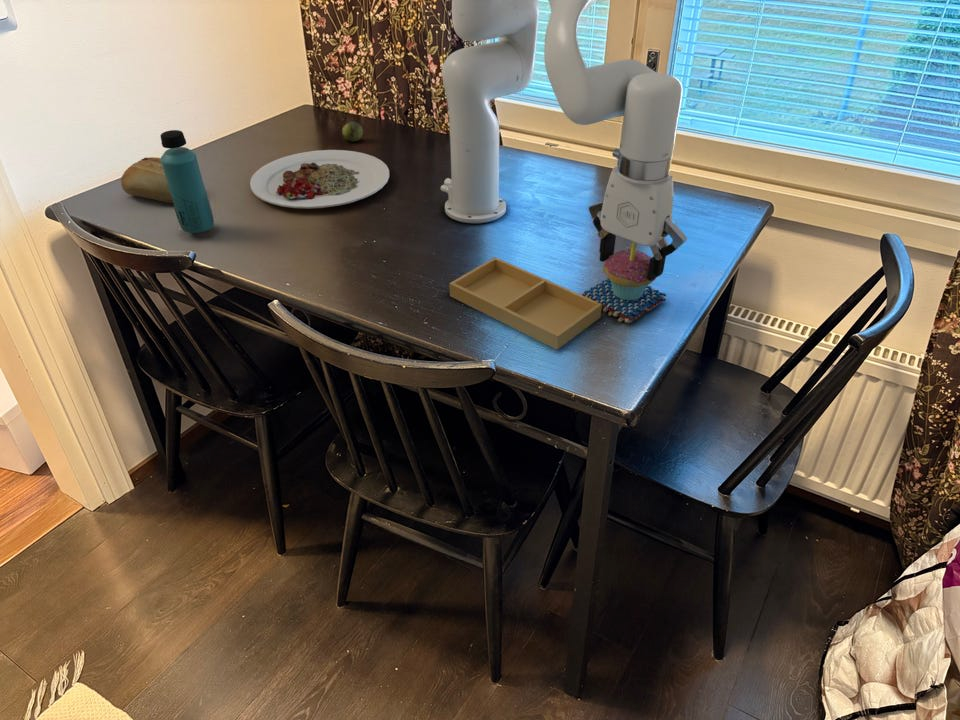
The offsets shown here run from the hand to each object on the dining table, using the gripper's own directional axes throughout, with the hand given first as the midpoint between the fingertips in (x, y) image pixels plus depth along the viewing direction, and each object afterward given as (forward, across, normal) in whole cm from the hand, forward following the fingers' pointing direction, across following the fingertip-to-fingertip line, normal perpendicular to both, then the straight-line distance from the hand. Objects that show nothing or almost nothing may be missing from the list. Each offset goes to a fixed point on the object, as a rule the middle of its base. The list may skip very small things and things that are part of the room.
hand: (629, 267), depth 115 cm
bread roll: (+7, -97, -31) cm, 102 cm away
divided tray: (+7, -12, -12) cm, 18 cm away
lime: (+7, -90, +17) cm, 92 cm away
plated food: (+7, -76, -4) cm, 76 cm away
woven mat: (+7, 0, 0) cm, 7 cm away
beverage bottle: (+7, -76, -34) cm, 84 cm away
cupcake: (+5, 0, 0) cm, 5 cm away
